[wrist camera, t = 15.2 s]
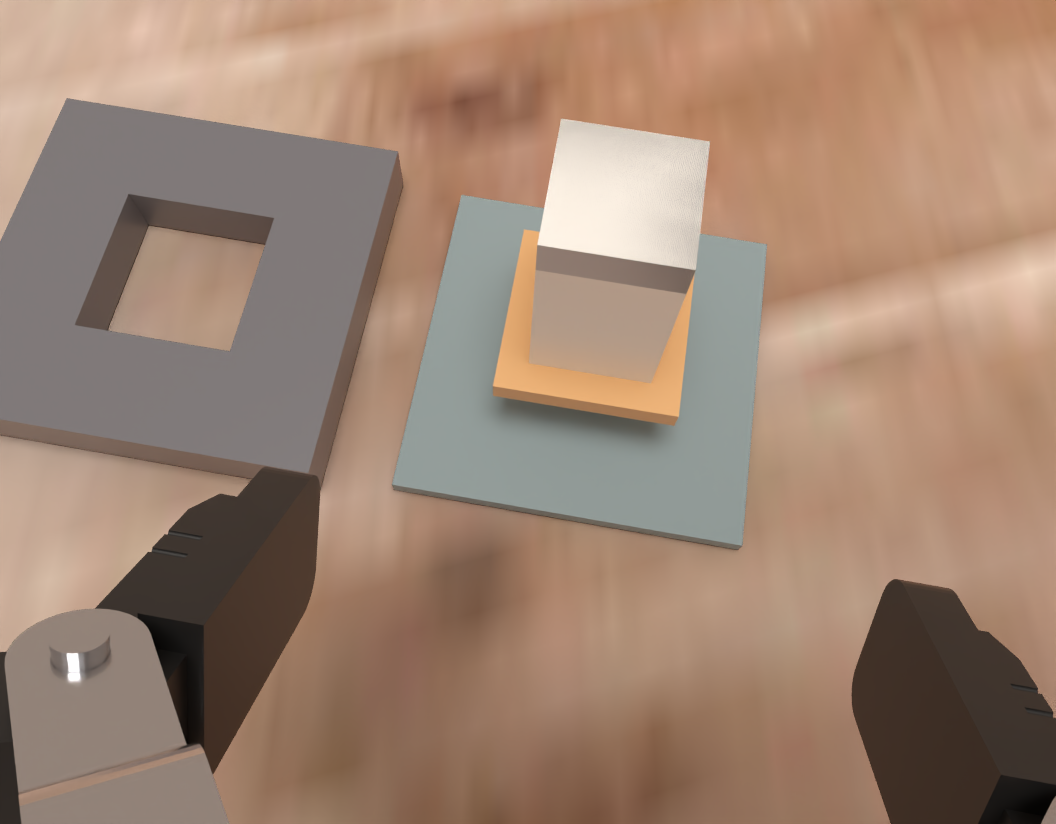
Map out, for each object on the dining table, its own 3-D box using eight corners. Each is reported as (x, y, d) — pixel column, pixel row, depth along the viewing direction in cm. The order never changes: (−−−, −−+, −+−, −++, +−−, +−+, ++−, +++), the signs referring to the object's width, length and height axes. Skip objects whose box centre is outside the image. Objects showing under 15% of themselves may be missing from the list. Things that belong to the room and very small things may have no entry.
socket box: (403, 183, 35) (398, 151, 34) (319, 490, 31) (308, 473, 29) (89, 133, 36) (66, 98, 34) (-42, 427, 31) (-77, 405, 29)
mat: (762, 252, 35) (766, 244, 34) (738, 549, 30) (742, 545, 30) (462, 204, 35) (461, 195, 35) (394, 489, 31) (392, 484, 30)
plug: (679, 299, 33) (749, 117, 24) (662, 448, 31) (732, 311, 22) (522, 274, 33) (530, 84, 24) (493, 420, 31) (490, 272, 22)
